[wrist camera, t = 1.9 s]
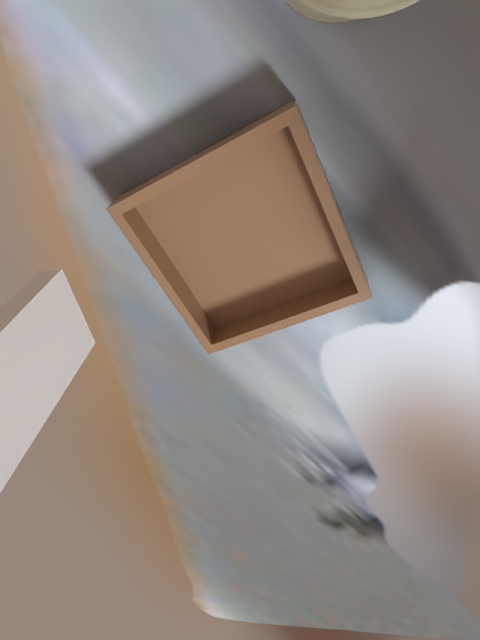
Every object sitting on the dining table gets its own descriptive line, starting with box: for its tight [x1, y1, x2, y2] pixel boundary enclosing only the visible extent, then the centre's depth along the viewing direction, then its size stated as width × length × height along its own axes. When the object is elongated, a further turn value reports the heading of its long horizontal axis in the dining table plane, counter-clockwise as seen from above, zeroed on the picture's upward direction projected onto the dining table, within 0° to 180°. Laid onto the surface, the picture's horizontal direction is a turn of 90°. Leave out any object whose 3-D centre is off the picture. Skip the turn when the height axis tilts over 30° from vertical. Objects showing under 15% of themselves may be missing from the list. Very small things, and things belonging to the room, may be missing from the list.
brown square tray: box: [106, 99, 372, 354], centre depth 32 cm, size 15×15×3 cm
